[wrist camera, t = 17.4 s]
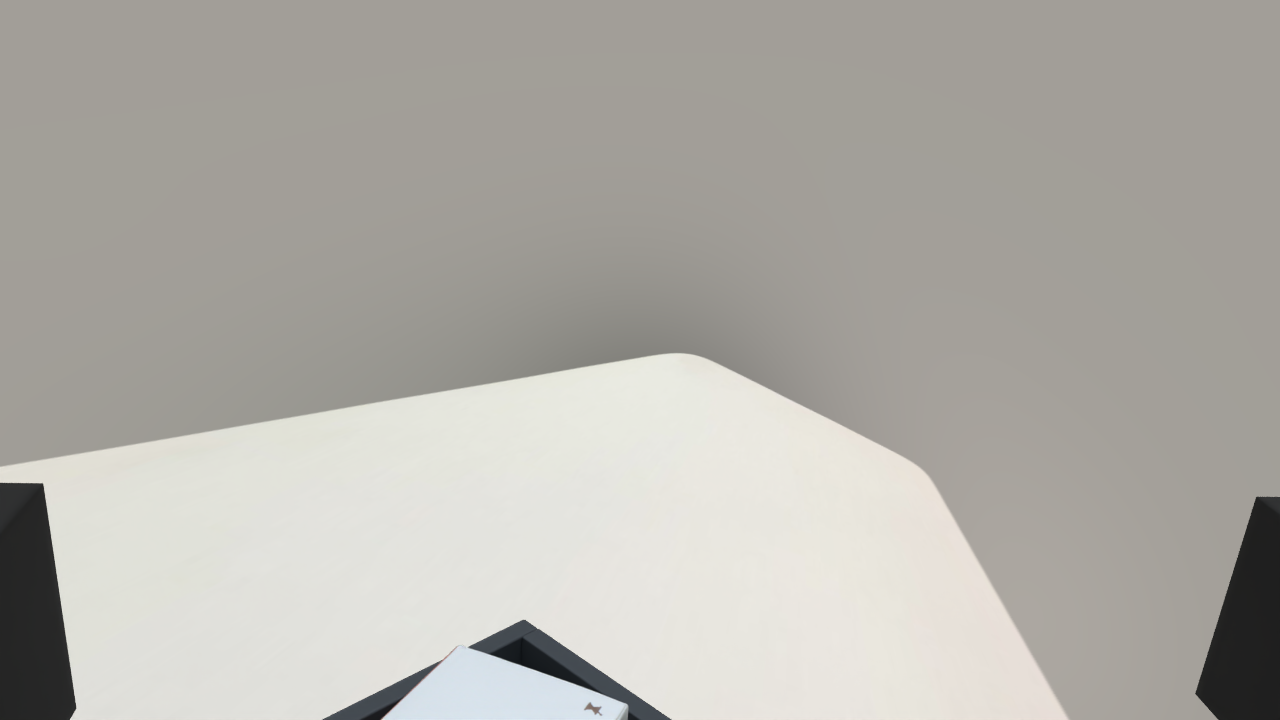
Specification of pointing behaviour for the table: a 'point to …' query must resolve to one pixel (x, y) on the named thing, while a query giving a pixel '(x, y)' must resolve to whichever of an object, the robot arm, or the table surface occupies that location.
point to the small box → (499, 693)
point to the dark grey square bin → (522, 649)
